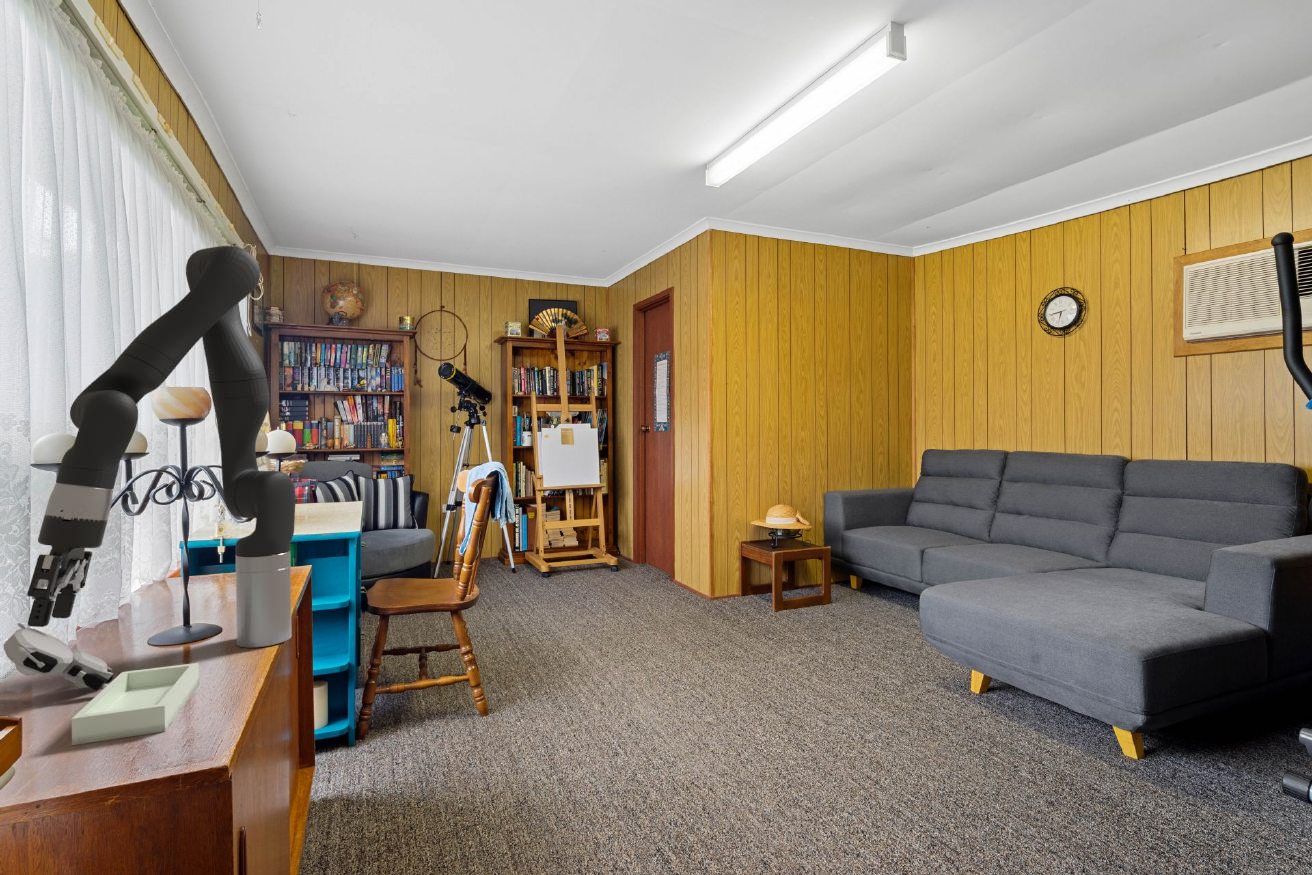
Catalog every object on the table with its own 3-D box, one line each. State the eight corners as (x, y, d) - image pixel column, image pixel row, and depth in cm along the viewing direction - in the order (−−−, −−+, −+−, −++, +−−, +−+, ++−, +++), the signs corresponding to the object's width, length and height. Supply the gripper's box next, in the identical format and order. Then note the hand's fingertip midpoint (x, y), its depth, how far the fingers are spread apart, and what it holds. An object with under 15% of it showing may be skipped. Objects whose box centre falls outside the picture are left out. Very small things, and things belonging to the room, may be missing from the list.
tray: (122, 694, 102) (122, 671, 102) (199, 684, 106) (198, 662, 106) (71, 745, 85) (71, 718, 85) (165, 731, 89) (164, 705, 89)
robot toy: (93, 682, 109) (-8, 643, 100) (115, 657, 110) (18, 617, 102) (101, 711, 100) (-9, 671, 91) (125, 683, 102) (19, 641, 93)
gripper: (64, 512, 107) (37, 613, 104) (26, 512, 94) (-6, 627, 92) (121, 518, 110) (96, 616, 107) (91, 518, 97) (62, 630, 95)
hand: (49, 621), depth 100 cm, fingers open, 8 cm apart
